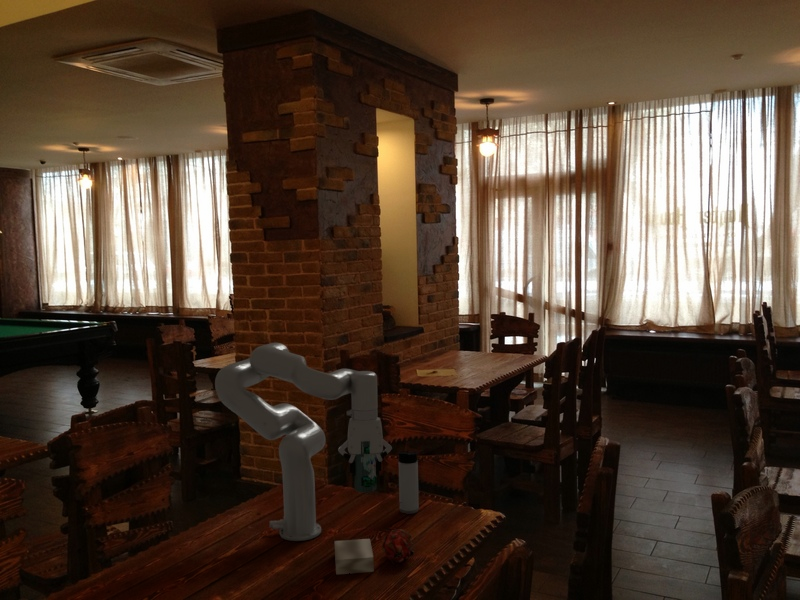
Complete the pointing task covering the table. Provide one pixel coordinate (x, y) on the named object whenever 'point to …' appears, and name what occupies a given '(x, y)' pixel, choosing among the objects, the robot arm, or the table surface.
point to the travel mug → (408, 482)
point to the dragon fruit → (397, 546)
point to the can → (365, 470)
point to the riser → (353, 556)
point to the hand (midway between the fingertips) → (365, 473)
